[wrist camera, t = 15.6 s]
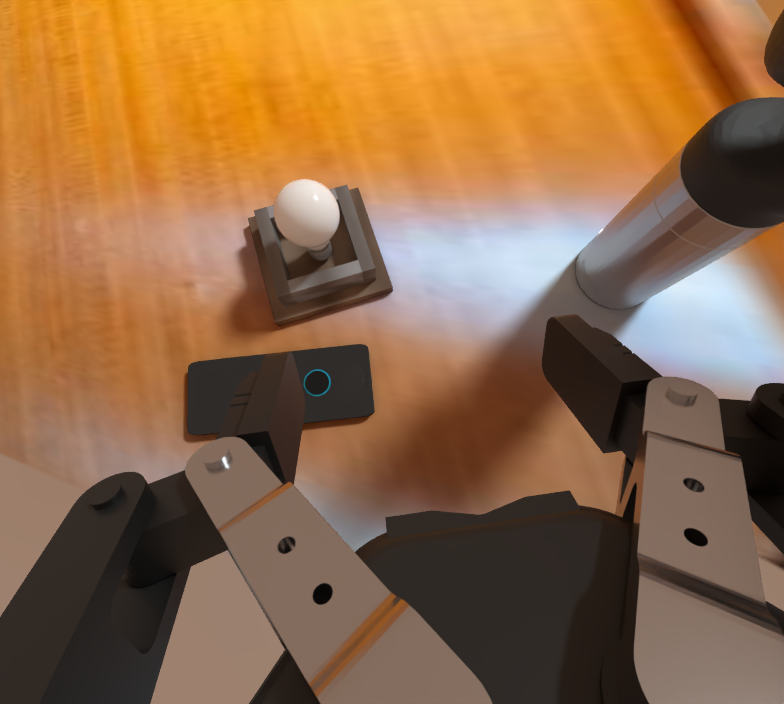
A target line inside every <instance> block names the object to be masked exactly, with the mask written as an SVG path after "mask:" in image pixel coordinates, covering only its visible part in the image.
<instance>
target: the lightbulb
mask: <svg viewBox="0 0 784 704" xmlns="http://www.w3.org/2000/svg"><path fill="white" fill-rule="evenodd" d="M274 218H275V222H276V225H277V227H278V229H279V231H280V232H281V233H282V235H283V236H284V237H285V238H286V239H287V240H289V241H290V242H292V243H293V244H295V245H298V246H301V247H306V248H307V249H308V251H309V253H310V255H311V257H312V258H314V259H315V260H319V261H321V260H325V259H327V258H328V257H329V256H330V255H331V253H332V246H331V243H330V239H331V238H332V237H333V235H334V234H335V232H336V230H337V228H338V225H339V220H340V212H339V207H338V203H337V201H336V199H335V197H334V195H333V194H332V193H331V191H330V190H329V189H328V188H327V187H325V186H324V185H323V184H321V183H319V182H317V181H314V180H310V179H298V180H295V181H292V182H290V183H288V184H287V185H285V186H284V187H283V188H282V189H281V190H280V192H279V193H278V195H277V197H276V200H275V203H274Z"/></svg>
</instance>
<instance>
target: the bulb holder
mask: <svg viewBox="0 0 784 704" xmlns="http://www.w3.org/2000/svg"><path fill="white" fill-rule="evenodd" d="M330 191H331V193H332V194H333V195H334V197H335V199H336V201H337V203H338V207H339V212H340V220H339V225H338V228H337V230H336V232H335V234H334V235H333V237H332V238H331V239H330V243H331V246H332V253H331V255H330V256H329V257H328V258H327V259H325V260H321V261H319V260H315V259H314V258H312V257H311V255H310V253H309V251H308V249H307V248H306V247H301V246H298V245H295V244H293V243H292V242H290V241H289V240H287V239H286V238H285V237H284V236H283V235H282V233H281V232H280V231H279V229H278V227H277V225H276V222H275V218H274V205H272V206H269V207H265V208H261V209H258V210H254V213H255V216H254V217H251V218H248V221H249V225H250V229H251V232H252V236H253V240H254V244H255V248H256V251H257V255H258V259H259V263H260V267H261V271H262V274H263V278H264V282H265V286H266V290H267V293H268V297H269V301H270V305H271V309H272V313H273V316H274V320H275V323H276V324H277V325H278V326H279V325H283V324H286V323H289V322H293V321H296V320H299V319H303V318H306V317H309V316H313V315H316V314H319V313H323V312H326V311H329V310H333V309H336V308H339V307H342V306H346V305H349V304H352V303H356V302H359V301H362V300H366V299H369V298H372V297H376V296H379V295H382V294H386V293H389V292H392V291H393V287H392V284H391V281H390V279H389V276H388V273H387V270H386V267H385V264H384V261H383V258H382V255H381V253H380V250H379V247H378V244H377V241H376V238H375V235H374V232H373V229H372V227H371V224H370V221H369V218H368V215H367V212H366V209H365V206H364V203H363V201H362V198H361V195H360V192H359V189H358V188H355V189H351V190H349V189H348V186H347V185H344V186H341V187H337V188H334V189H330Z"/></svg>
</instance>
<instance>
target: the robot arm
mask: <svg viewBox="0 0 784 704" xmlns="http://www.w3.org/2000/svg"><path fill="white" fill-rule="evenodd" d="M764 63H765V66H766V69H767V72H768V74H769V75H770V76H771V77H772V78H773V79H774V80H775V81H776V82H777V83H778V84H780V85H782V86H783V87H784V10H783V11H782V13H781V15H780V16H779V18H778V20H777V21H776V23H775V25H774V27H773V29H772V31H771V34H770V37H769V39H768V42H767V44H766V48H765V56H764ZM782 222H784V98H778V97H770V98H757V99H750V100H746V101H742V102H739V103H736V104H734V105H731V106H729V107H727V108H725V109H724V110H722V111H721V112H719V113H718V114H716V115H715V116H714V117H713V118H711V119H710V120H709V121H708V122H707V123H706V124H705V125H704V126H703V127H702V128H701V129H700V130H699V131H698V132H697V133H696V134H695V135H694V136H693V137H692V138H691V139H690V140H689V141H688V142H687V144H686V145H685V146H684V147H683V148H682V149H681V150H680V151H679V152H678V153H677V154H676V155H675V156H674V157H673V158H672V159H671V160H670V161H669V162H668V163H667V164H666V165H665V166H664V167H663V168H662V169H661V170H660V171H659V172H658V173H657V174H656V175H655V176H654V177H653V178H652V180H651V181H650V182H649V183H648V184H647V185H646V186H645V187H644V188H643V189H642V190H641V191H640V192H639V193H638V194H637V195H636V196H635V197H634V198H633V199H632V200H631V201H630V202H629V203H628V204H627V205H626V206H625V207H624V208H623V209H622V210H621V211H620V212H619V213H618V214H617V215H616V216H615V217H614V218H613V219H612V220H611V221H610V222H609V223H608V224H607V225H606V227H605V228H604V229H602V230H601V231H600V232H599V233H598V235H597V236H596V237H595V238H594V239H593V240H592V241H591V242H590V243H589V244H588V245H587V246H586V247H585V248H584V249H583V250H582V251H581V253H580V254H579V256H578V259H577V262H576V269H575V270H576V277H577V280H578V283H579V285H580V287H581V288H582V290H583V291H584V293H585V294H586V295H587V296H588V297H589V298H590V299H592V300H593V301H594V302H596V303H598V304H600V305H602V306H604V307H608V308H611V309H628V308H631V307H634V306H636V305H638V304H640V303H641V302H643V301H645V300H647V299H649V298H650V297H652V296H654V295H656V294H657V293H659V292H661V291H663V290H665V289H667V288H668V287H670V286H672V285H674V284H675V283H677V282H679V281H681V280H682V279H684V278H686V277H688V276H689V275H691V274H693V273H695V272H696V271H698V270H700V269H702V268H703V267H705V266H707V265H709V264H711V263H712V262H714V261H716V260H718V259H719V258H721V257H723V256H725V255H726V254H728V253H730V252H732V251H733V250H735V249H737V248H739V247H740V246H742V245H744V244H746V243H747V242H749V241H751V240H752V239H754V238H756V237H758V236H759V235H761V234H763V233H765V232H766V231H768V230H770V229H772V228H773V227H775V226H777V225H779V224H780V223H782ZM542 368H543V372H544V375H545V377H546V379H547V380H548V382H549V383H550V384H551V386H552V387H553V388H554V389H555V391H556V392H557V393H558V395H559V396H560V397H561V399H562V400H563V401H564V403H565V404H566V405H567V406H568V408H569V409H570V410H571V412H572V413H573V414H574V416H575V417H576V418H577V419H578V421H579V422H580V423H581V425H582V426H583V427H584V429H585V430H586V431H587V432H588V434H589V435H590V436H591V438H592V439H593V440H594V442H595V443H596V444H597V446H598V447H599V448H600V449H601V451H602V452H603V453H609V452H616V451H623V453H624V454H625V458H624V461H623V465H622V471H621V478H620V485H619V492H618V499H617V506H616V512H615V514H612V513H610V512H607V511H603V510H600V509H596V508H592V507H586V506H580V505H578V504H577V502H576V501H575V499H574V497H573V496H572V494H571V492H570V491H563V492H556V493H549V494H542V495H536V496H529V497H524V498H521V499H519V500H517V501H514V502H512V503H510V504H507V505H505V506H502V507H500V508H498V509H495V510H493V511H491V512H488V513H486V514H481V515H475V514H463V513H451V512H440V511H426V512H420V513H413V514H406V515H399V516H392V517H386V528H387V533H384V534H382V535H380V536H378V537H376V538H374V539H372V540H371V541H369V542H367V543H366V544H365V545H363V546H362V547H361V548H359V549H358V550H357V551H356V552H354V551H353V550H352V549H351V548H350V547H349V546H348V544H347V543H346V542H345V541H344V540H343V539H342V538H341V537H340V536H339V534H338V533H337V532H336V531H335V530H334V529H333V528H332V527H331V526H330V524H329V523H328V522H327V521H326V520H325V519H324V518H323V517H322V516H321V514H320V513H319V512H318V511H317V510H316V509H315V508H314V507H313V506H312V505H311V503H310V502H309V501H308V500H307V499H306V498H305V497H304V496H303V495H302V493H301V492H300V491H299V490H298V489H297V488H296V487H295V486H294V479H295V473H296V466H297V460H298V453H299V447H300V440H301V434H302V427H303V421H304V414H305V398H304V392H303V389H302V385H301V381H300V378H299V374H298V370H297V367H296V363H295V360H294V356H293V354H292V352H290V351H289V352H281V353H274V354H267V355H265V357H264V360H263V363H262V365H261V368H260V371H259V372H252V373H250V374H249V375H248V376H246V377H245V378H244V379H243V380H242V381H241V382H240V383H239V385H238V388H237V390H236V392H235V395H234V398H233V400H232V402H231V404H230V408H229V409H228V411H227V414H226V416H225V418H224V421H223V423H222V426H221V428H220V430H219V433H218V435H217V437H216V440H214V441H212V442H210V443H207V444H206V445H204V446H202V447H201V448H200V449H198V450H197V451H196V452H195V453H194V454H193V455H192V456H191V457H190V459H189V460H188V462H187V464H186V468H185V470H184V471H182V472H179V473H177V474H174V475H171V476H169V477H166V478H163V479H161V480H158V481H155V482H153V483H150V484H148V483H147V482H146V480H145V479H144V477H143V476H142V475H141V474H139V473H136V472H124V473H119V474H116V475H113V476H110V477H108V478H106V479H104V480H102V481H100V482H98V483H97V484H95V485H94V486H92V487H91V488H90V489H88V490H87V491H86V492H85V493H84V494H82V496H81V497H80V498H79V499H78V500H77V501H76V503H75V504H74V505H73V507H72V508H71V510H70V512H69V513H68V514H67V516H66V518H65V519H64V521H63V522H62V524H61V525H60V527H59V528H58V530H57V531H56V533H55V534H54V536H53V537H52V539H51V540H50V542H49V543H48V545H47V546H46V548H45V550H44V551H43V553H42V554H41V556H40V557H39V559H38V560H37V562H36V563H35V565H34V566H33V568H32V569H31V571H30V572H29V574H28V575H27V577H26V579H25V580H24V582H23V583H22V585H21V586H20V588H19V589H18V591H17V592H16V594H15V595H14V597H13V598H12V600H11V601H10V603H9V605H8V606H7V607H6V609H5V611H4V612H3V614H2V615H1V617H0V704H150V702H151V699H152V696H153V692H154V689H155V685H156V682H157V679H158V675H159V672H160V669H161V665H162V662H163V659H164V655H165V652H166V649H167V645H168V642H169V639H170V635H171V632H172V628H173V625H174V622H175V618H176V615H177V612H178V608H179V605H180V602H181V598H182V595H183V592H184V588H185V585H186V581H187V578H188V574H189V571H190V568H191V566H193V565H195V564H197V563H199V562H202V561H204V560H206V559H208V558H211V557H213V556H215V555H217V554H220V553H222V552H224V551H226V550H228V552H229V553H230V555H231V557H232V559H233V560H234V562H235V564H236V565H237V567H238V569H239V570H240V572H241V574H242V576H243V578H244V579H245V581H246V583H247V584H248V586H249V588H250V590H251V591H252V593H253V595H254V596H255V598H256V600H257V602H258V603H259V605H260V607H261V609H262V610H263V612H264V613H265V616H266V617H267V619H268V621H269V622H270V624H271V626H272V628H273V630H274V631H275V633H276V635H277V636H278V638H279V640H280V642H281V644H282V645H283V647H284V649H285V651H284V652H283V654H282V655H281V657H280V658H279V660H278V661H277V663H276V664H275V666H274V667H273V669H272V670H271V672H270V673H269V675H268V676H267V678H266V679H265V681H264V682H263V684H262V685H261V687H260V688H259V690H258V691H257V693H256V694H255V696H254V697H253V699H252V700H251V702H250V703H249V704H784V611H782V610H781V609H779V608H777V607H775V606H774V605H772V604H770V603H769V602H767V601H765V597H764V591H763V585H762V579H761V573H760V567H759V561H758V555H757V549H756V543H755V537H754V531H753V525H752V521H753V522H754V523H755V524H756V525H757V526H758V527H759V529H760V530H761V531H762V532H763V533H764V534H765V535H766V536H767V537H768V538H769V539H770V540H771V541H772V542H773V543H774V545H775V546H776V547H777V548H778V549H779V550H780V551H781V552H782V553H783V554H784V384H783V383H769V384H764V385H761V386H759V387H758V388H757V389H756V391H755V393H754V395H753V397H752V399H751V401H744V400H730V399H718V398H717V396H716V395H715V394H714V393H713V392H712V391H711V390H709V389H708V388H706V387H705V386H703V385H701V384H699V383H696V382H694V381H691V380H688V379H683V378H678V377H663V376H661V375H660V374H659V373H658V372H656V371H655V370H654V369H653V368H651V367H650V366H649V365H648V364H647V363H645V362H644V361H643V360H642V359H640V358H639V357H638V356H637V355H635V354H634V353H633V354H632V351H631V350H629V349H628V348H627V347H626V346H622V343H621V342H619V341H618V340H617V339H616V338H615V337H613V336H612V335H611V334H608V333H606V332H604V331H601V330H599V329H597V328H595V327H594V328H592V327H591V326H590V325H588V324H587V323H586V322H585V321H584V320H583V319H581V318H580V317H579V316H578V315H566V316H559V317H552V318H550V319H549V320H548V322H547V326H546V333H545V341H544V349H543V356H542Z"/></svg>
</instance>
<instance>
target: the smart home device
mask: <svg viewBox="0 0 784 704" xmlns="http://www.w3.org/2000/svg"><path fill="white" fill-rule="evenodd" d="M290 352H292V354H293V356H294V360H295V363H296V367H297V370H298V374H299V378H300V381H301V385H302V389H303V392H304V398H305V414H304V421H303V424H304V423H313V422H322V421H331V420H340V419H349V418H358V417H366V416H369V415H372V414H373V413H374V401H373V391H372V378H371V371H370V361H369V351H368V347H367V346H366V345H362V344H356V345H346V346H337V347H328V348H318V349H309V350H300V351H290ZM272 354H274V353H272ZM265 355H267V354H262V355H253V356H244V357H243V356H242V357H233V358H224V359H216V360H207V361H198V362H194V363H191V364H190V365H189V366H188V416H187V429H188V433H190V434H193V435H206V434H215V433H219V430H220V428H221V426H222V423H223V421H224V418H225V416H226V414H227V411H228V409H229V408H230V404H231V402H232V400H233V398H234V395H235V392H236V390H237V388H238V385H239V383H240V382H241V381H242V380H243V379H244V378H245V377H246V376H248V375H249V374H250V373H252V372H259V371H260V368H261V365H262V363H263V360H264V357H265Z"/></svg>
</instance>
